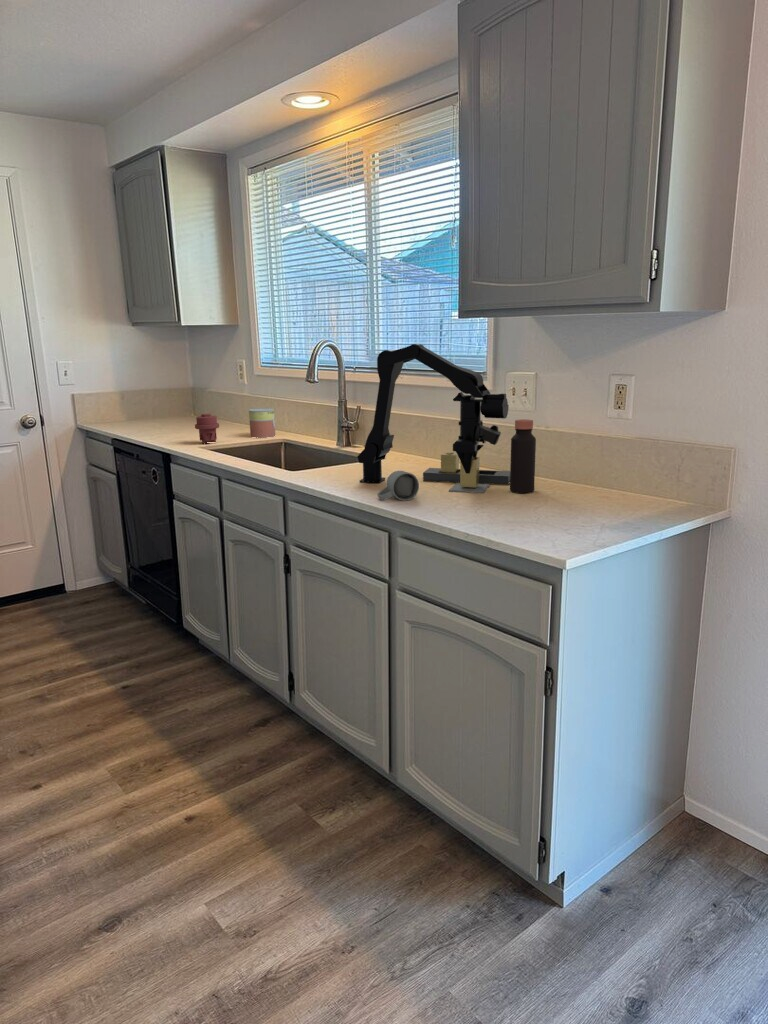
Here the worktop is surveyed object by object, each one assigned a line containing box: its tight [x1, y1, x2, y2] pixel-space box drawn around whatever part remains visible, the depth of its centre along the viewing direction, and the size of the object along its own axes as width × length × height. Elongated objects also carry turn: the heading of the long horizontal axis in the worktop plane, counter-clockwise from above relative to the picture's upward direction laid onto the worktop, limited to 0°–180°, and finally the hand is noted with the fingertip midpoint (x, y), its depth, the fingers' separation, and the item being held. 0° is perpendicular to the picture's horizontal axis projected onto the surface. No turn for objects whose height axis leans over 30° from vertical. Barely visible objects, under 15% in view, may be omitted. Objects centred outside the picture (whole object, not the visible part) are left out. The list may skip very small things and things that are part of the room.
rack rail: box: [422, 467, 510, 485], centre depth 216 cm, size 8×26×2 cm, turn 72°
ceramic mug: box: [377, 470, 420, 501], centre depth 194 cm, size 11×8×8 cm
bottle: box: [509, 419, 537, 494], centre depth 198 cm, size 7×7×20 cm
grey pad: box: [448, 482, 491, 494], centre depth 205 cm, size 10×10×1 cm
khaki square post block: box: [440, 451, 460, 473], centre depth 217 cm, size 5×5×8 cm
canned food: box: [248, 407, 277, 439], centre depth 317 cm, size 11×11×12 cm
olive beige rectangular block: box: [459, 456, 480, 488], centre depth 204 cm, size 5×5×8 cm
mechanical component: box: [194, 413, 220, 444], centre depth 300 cm, size 12×10×10 cm
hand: (469, 471), depth 204 cm, fingers open, 5 cm apart
